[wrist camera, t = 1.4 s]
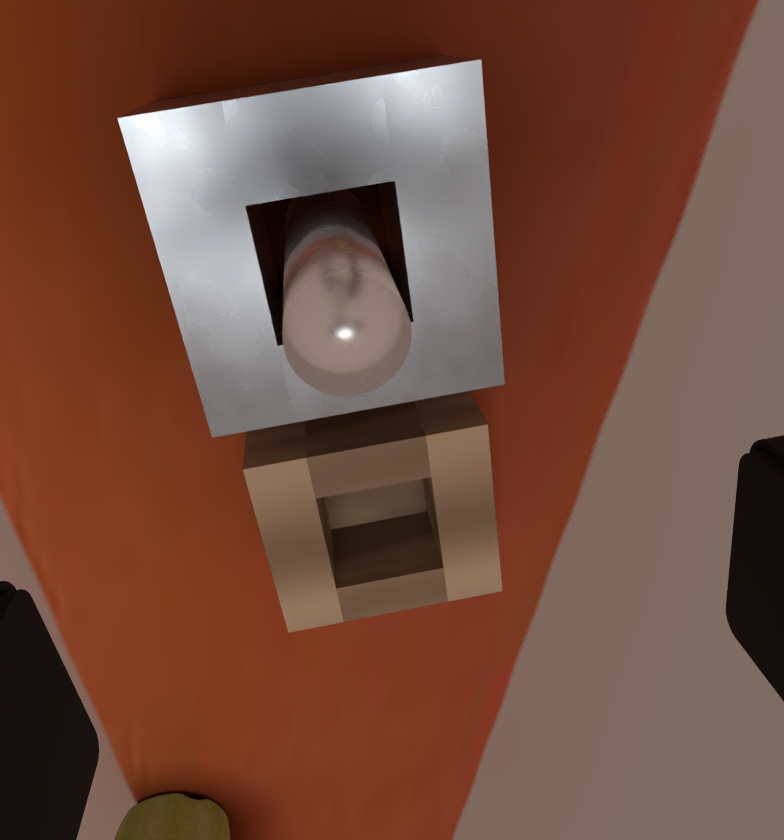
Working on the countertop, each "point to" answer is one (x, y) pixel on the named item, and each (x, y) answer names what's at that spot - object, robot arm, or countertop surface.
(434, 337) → the socket block
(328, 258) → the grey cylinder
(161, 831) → the plant pot
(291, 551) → the frame
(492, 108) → the countertop surface
